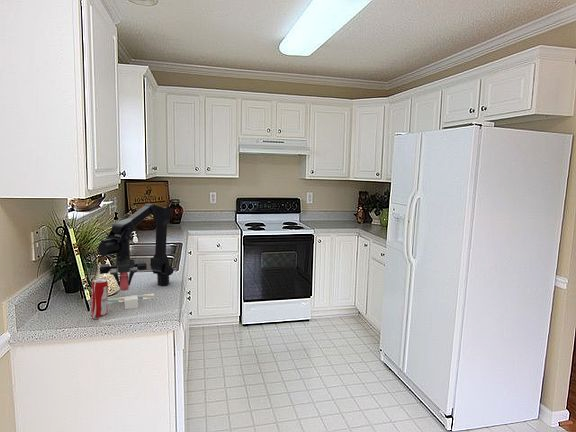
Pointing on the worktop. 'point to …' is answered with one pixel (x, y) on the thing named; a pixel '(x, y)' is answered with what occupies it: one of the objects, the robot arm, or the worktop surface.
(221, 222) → the worktop surface
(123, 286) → the red cylinder
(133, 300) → the die
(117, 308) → the worktop surface
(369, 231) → the worktop surface
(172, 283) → the worktop surface
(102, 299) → the beverage can
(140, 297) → the board
